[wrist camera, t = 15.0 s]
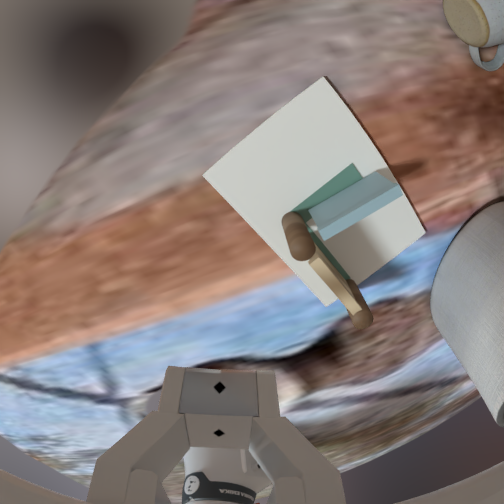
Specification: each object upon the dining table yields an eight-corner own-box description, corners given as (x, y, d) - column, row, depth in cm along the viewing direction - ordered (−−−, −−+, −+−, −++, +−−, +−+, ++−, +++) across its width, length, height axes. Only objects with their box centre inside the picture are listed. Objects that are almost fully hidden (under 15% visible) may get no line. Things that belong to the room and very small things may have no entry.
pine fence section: (358, 285, 37) (376, 320, 31) (343, 295, 38) (359, 332, 32) (293, 205, 32) (305, 232, 26) (276, 218, 33) (284, 248, 27)
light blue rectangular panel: (311, 218, 32) (324, 241, 27) (306, 209, 32) (318, 231, 27) (379, 178, 30) (403, 195, 25) (375, 169, 30) (398, 184, 25)
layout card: (424, 231, 34) (426, 233, 34) (325, 305, 38) (326, 307, 38) (322, 76, 26) (323, 76, 26) (202, 174, 31) (202, 175, 30)
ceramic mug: (427, -6, 21) (468, -20, 14) (471, -15, 19) (512, -25, 13) (466, 78, 26) (511, 83, 19) (505, 62, 24) (548, 66, 17)
